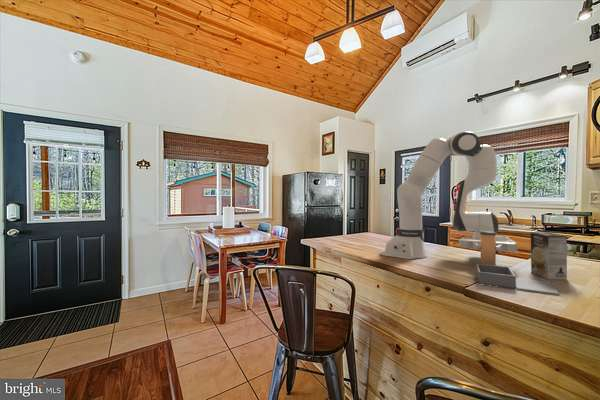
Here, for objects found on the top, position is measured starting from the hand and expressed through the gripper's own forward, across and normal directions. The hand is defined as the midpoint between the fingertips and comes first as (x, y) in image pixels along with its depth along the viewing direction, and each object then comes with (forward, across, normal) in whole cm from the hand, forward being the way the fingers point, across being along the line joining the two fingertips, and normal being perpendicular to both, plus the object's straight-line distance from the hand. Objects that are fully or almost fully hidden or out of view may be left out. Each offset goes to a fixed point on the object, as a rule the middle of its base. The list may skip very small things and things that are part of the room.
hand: (488, 247), depth 102 cm
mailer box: (+15, +6, +9) cm, 19 cm away
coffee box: (-2, +18, +9) cm, 21 cm away
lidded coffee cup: (-1, 0, +8) cm, 8 cm away
